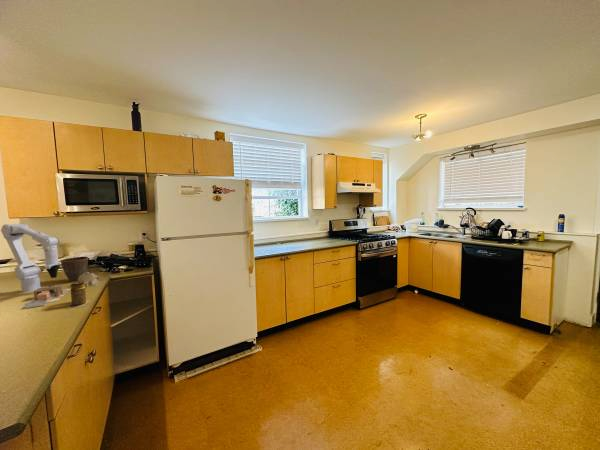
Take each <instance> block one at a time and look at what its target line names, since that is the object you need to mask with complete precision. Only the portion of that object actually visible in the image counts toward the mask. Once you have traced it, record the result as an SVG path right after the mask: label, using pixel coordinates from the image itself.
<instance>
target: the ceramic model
mask: <svg viewBox="0 0 600 450" xmlns="http://www.w3.org/2000/svg"><path fill="white" fill-rule="evenodd" d="M99 280H100V277H99V276H98V275H96V274H95V273H93V272H89V271H86V273H83V274H82V275H80V276H79V278H78V281H77V282H84V286H85V289H86V288H91V287H95V288H97V287H99V286H101V285H102V284H101V281H99Z"/></svg>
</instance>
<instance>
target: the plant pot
mask: <svg viewBox="0 0 600 450" xmlns="http://www.w3.org/2000/svg"><path fill="white" fill-rule="evenodd" d="M60 262H61V264H60V265H61V267H62V270H63V272H64V274H65V276H66V278H67V279H68V281H69V282H70V283H75V282H79V281H78V278H79V276H80V275H82V274H83V273H86V272H87V268H88V264H89V257H88V256H76V257H75V256H74V257H68V258H63V259H61V260H60Z"/></svg>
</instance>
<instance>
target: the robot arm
mask: <svg viewBox="0 0 600 450" xmlns="http://www.w3.org/2000/svg"><path fill="white" fill-rule="evenodd" d="M0 232H1V234H2V237H3V238H4V239H5V241H6V243H7V244H8V247H9V249H10V251H11V253H12V255H13V257H14V259H15V261H16V263H17V266H16V267H15V268H14V269H13V270H14V274H15V277H16V278H17V279H18V280H20V287H21V292H22V293H27V292H34V291H35V290H37V289H38V288H44V287H42V286H41V280H40V277H39V275H40V274H41V268H40V267H39V266H38V265H37V263H35V262H33V261H31V260H30V257H29V256H28V254H27V252H26V250H25V248H24V246H23V244H22V241H21V238H23V237H24V236H25V235H27V236H28V237H31V239H32V240H33V241H35V242H37V243H40V246H41V247H42V250H43V252H44V259H45V264H44V265H45V266H44V268H45V270H46V271H47V273H48V274H49V276H50V278H51V279H54V278H57V276H58V272H59V268H60V265H62V264H61V261H59V253H58V245H59V243H60V240H59V237H57V236H56V235H54V236H50V235H48V234H46V233H44V231H36V230H34V229H32V228H31V227H29V224H26V223H24V222H21V223H11V224H7V223H6V224H3V225H2V226H1V229H0Z"/></svg>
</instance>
